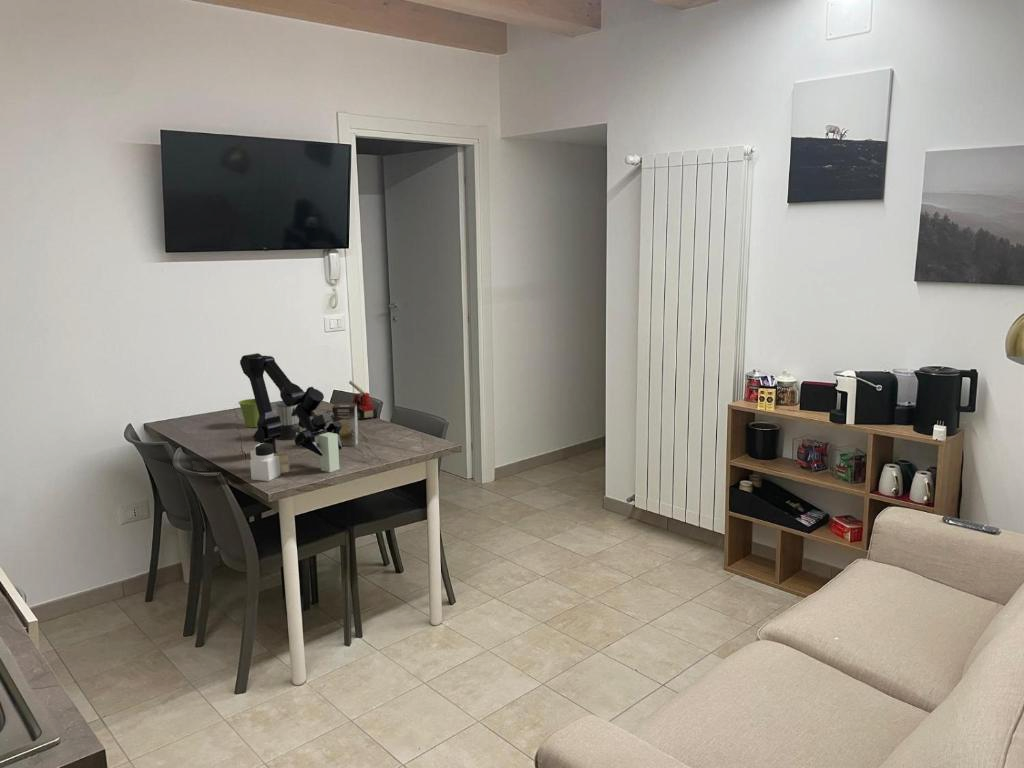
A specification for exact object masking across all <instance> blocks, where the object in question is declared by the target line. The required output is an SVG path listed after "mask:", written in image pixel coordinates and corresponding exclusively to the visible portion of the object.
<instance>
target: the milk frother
mask: <svg viewBox="0 0 1024 768" xmlns="http://www.w3.org/2000/svg"><path fill="white" fill-rule="evenodd" d="M275 405H276V406H275V407H276V416H278V415H279V417H280V420H281V423H282V431H281V436H280V438H278V439H279V440H282V441H283V440H284V441H289V440H295V438H296V437H297V436H298V434H299V433H300V432H301V429H300V428H302V427H301V426H302V425H303V424H302V423H301V421H300V420H299V418H298V417H297V416H293V417H292V409H294V408H296V407H297V405H295V406H291V407H289V406H286V405H285V404H284V402H283V400H281V401H278V402H275Z"/></svg>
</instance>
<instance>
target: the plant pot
mask: <svg viewBox="0 0 1024 768" xmlns="http://www.w3.org/2000/svg"><path fill="white" fill-rule="evenodd" d="M237 403H238V405H239V406H240V409H241V413H242V416H243V419H244V420H243V421H244V425H245V427H246V428H249V429H251V428H258V427H257V422H258V419H259V412H258V409H257V405H256V401H255V398H248V399H247V398H246V399H244V400H243V399H241V400H239V401H238V402H237Z"/></svg>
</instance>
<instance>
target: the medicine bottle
mask: <svg viewBox="0 0 1024 768" xmlns="http://www.w3.org/2000/svg"><path fill="white" fill-rule="evenodd" d="M254 449H255V457H256V458H254V459H252V460H251V459H250V460H249V465H250V475H251V480H252V481H263V482H270V481H273V480H274V479H276V478H278V477H280V476H281V473H280V462H279V456H273V455H274V454H273V445H272V444H270V443H261V444H260V443H258V444H256V445H255V446H254Z"/></svg>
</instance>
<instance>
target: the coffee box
mask: <svg viewBox="0 0 1024 768" xmlns="http://www.w3.org/2000/svg"><path fill="white" fill-rule="evenodd" d="M331 411H332V412H333V414H334V418H333V419H332V420H333V421H332V423H333V422H336V421H339V422H340V423H341V424H342V426H343V427H342V428H341V430H340V431H339V437H340V441H341V445H342V447H356V446H357V445H358V443H359V430H358V429H359V428H358V427H359V426H358V418H357V404H353V403H334V404H333V405H332V410H331Z"/></svg>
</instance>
